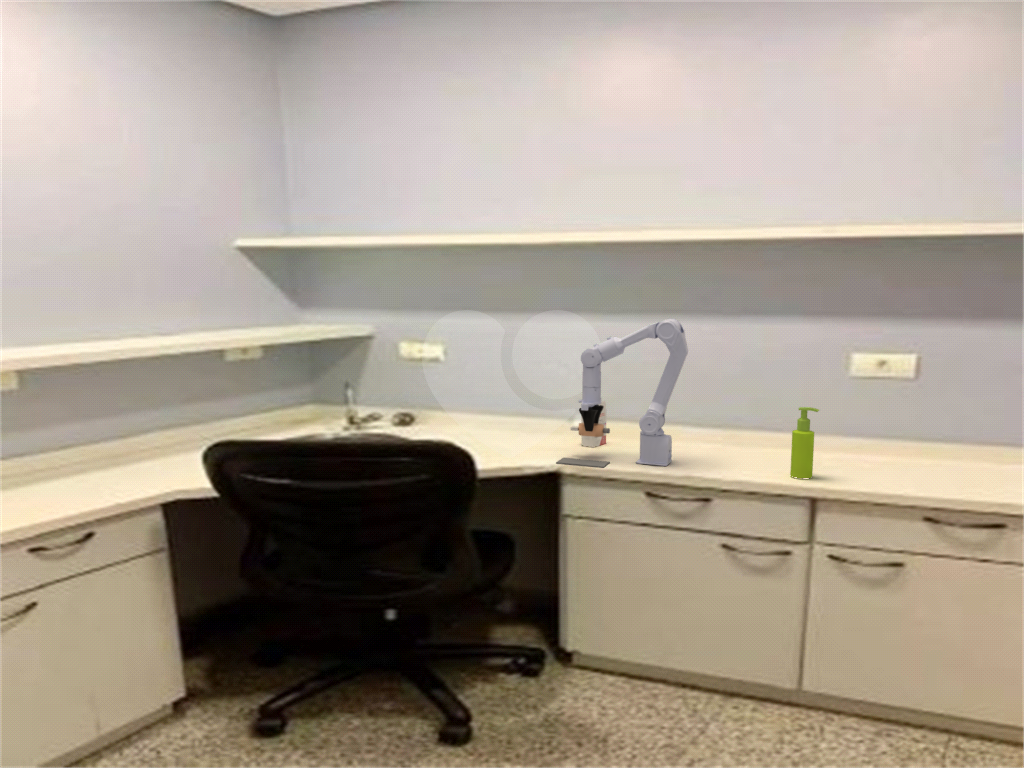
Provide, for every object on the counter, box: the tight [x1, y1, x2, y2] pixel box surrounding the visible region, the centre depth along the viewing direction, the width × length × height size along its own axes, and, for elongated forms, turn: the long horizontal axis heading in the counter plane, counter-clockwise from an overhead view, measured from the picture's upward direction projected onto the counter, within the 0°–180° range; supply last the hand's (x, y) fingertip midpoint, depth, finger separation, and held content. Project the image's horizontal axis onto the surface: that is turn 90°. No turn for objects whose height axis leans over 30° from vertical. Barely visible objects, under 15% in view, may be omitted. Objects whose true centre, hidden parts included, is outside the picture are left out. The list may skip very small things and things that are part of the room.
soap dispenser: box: [789, 406, 820, 478], centre depth 234 cm, size 6×7×20 cm
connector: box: [570, 422, 611, 437], centre depth 259 cm, size 12×4×3 cm, turn 67°
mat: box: [555, 457, 611, 469], centre depth 253 cm, size 15×7×1 cm, turn 67°
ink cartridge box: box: [580, 400, 607, 448], centre depth 279 cm, size 9×5×15 cm, turn 143°
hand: (591, 429), depth 259 cm, fingers closed on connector, 4 cm apart
